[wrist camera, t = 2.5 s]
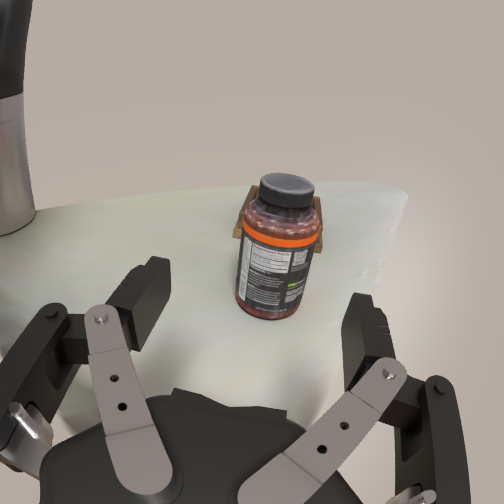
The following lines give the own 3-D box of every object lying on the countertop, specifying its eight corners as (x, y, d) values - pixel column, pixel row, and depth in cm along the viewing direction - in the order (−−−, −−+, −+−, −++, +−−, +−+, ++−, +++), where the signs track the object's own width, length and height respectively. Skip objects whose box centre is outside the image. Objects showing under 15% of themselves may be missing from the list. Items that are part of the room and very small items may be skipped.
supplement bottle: (255, 272, 32) (271, 163, 26) (309, 295, 30) (338, 183, 24) (221, 303, 28) (231, 179, 22) (281, 333, 26) (312, 205, 19)
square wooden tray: (232, 237, 37) (235, 214, 36) (247, 202, 46) (249, 183, 45) (320, 253, 37) (326, 230, 35) (318, 215, 46) (322, 196, 44)
